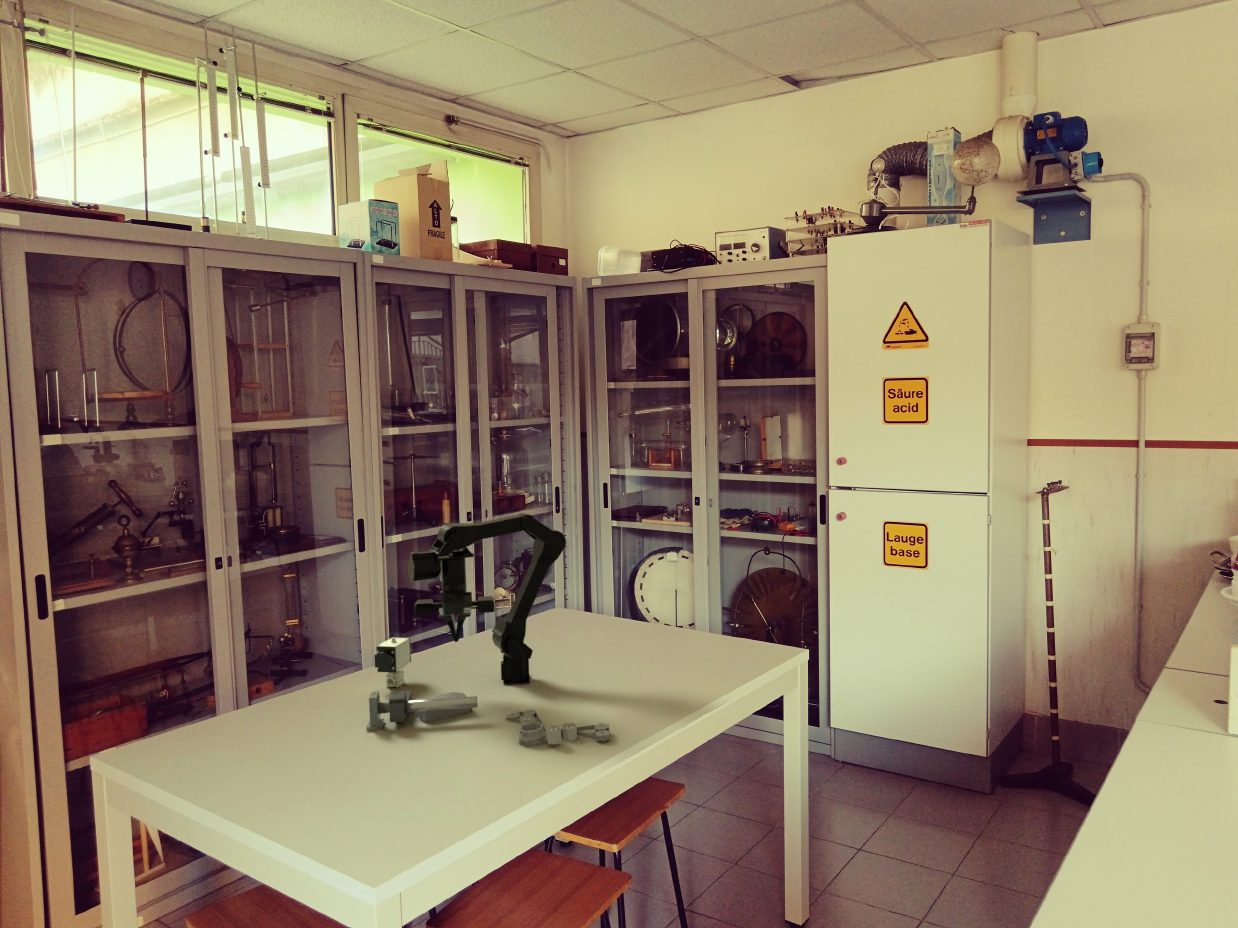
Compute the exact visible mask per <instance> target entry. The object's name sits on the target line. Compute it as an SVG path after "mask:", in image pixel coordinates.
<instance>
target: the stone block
mask: <svg viewBox="0 0 1238 928" xmlns="http://www.w3.org/2000/svg"><path fill="white" fill-rule="evenodd" d="M458 697H468V696H467V695H466V694H465V693H464V692H463V691H462V692H460V691H457V692H456V691H452V692H448V693H442V694H439V695H436V696H434V697H430V696H429V697H421V698H420V697H419V698H414V700H426V699H442V698H458ZM472 710H473V708H464V709H448V710H433V711H417V712H413V715H414V716H415V717H417V718H419V720H421V721H422V723H426V722H432V721H437V720H442V719H446V718H447V719H448V718H451V717H456V716H462V715H466V714H468V713H471V712H472Z"/></svg>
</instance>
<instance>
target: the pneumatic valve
mask: <svg viewBox="0 0 1238 928" xmlns="http://www.w3.org/2000/svg"><path fill="white" fill-rule="evenodd" d="M375 648H376V649H375V650H376V653H375V654H374V668H377V671H376V672H377V673H386V674H385V677H386V679H385V680H386V681H385V682H386V684H385V686H386V688H398V689H399V688H400V687H401V686H403V685H404V684H405V682H406V681H405V680H404V679H405V670H404V669H403V668H405V667H406V666H407V665H409V664H410V663H412V653H413V645H412V643H411V637H408V636H407V637H402V636H399V637H398V636H393V637H391V638H389V639H387V640H384V641H382V642H380V643H379V644H378V645H377V646H376V647H375Z"/></svg>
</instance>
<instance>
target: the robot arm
mask: <svg viewBox="0 0 1238 928" xmlns="http://www.w3.org/2000/svg"><path fill="white" fill-rule="evenodd" d="M517 532H524V533H525V534H527V536H529V537H530V538H531V539H533V540H534V541H533V546H532V556H531V557H532V558H531V562H530V564H529V566H528V568H527V571H526V572H525V573H526V574H524V575H525V576H524V577H523V580H522V582H521V585H520V588H519V590H518V591H517V594H516V596H515V598H514V600H513V602H512V605H511V607H510V610H509V611H508V613H506V615H505V616H504V617H501V616H498V617H497V619H496V623H495V625H494V627H493V628H492V629H491V632H492V637H491V639H492V643H493V644H494V645H495V646H496V648H498V649H499V650H500V653H501V654H503V655H502V661H500V675H501V676H500V680H501V681H502V684H503V685H517V684H522V685H523V684H529V683H531V675H530V659H531V658H532V654H533V649H532V648H531V647H529V645H527V644H526V643H525V638H526V633H527V632H526V631H527V621H528V617H529V614H530V612H531V610H532V608H533V606H534V604H535V601H536V599H537V596H538V594H539V591H540V590H541V587H542V585H543V583H544V580H545V578H546V576H547V573H548V571H549V569H550V568H551V566H552V565H553V564H554V563H555V561H557V560H558V559H559V557H560V556H561V554H562V553H563V551H564V549H565V548H566V545H567V540H566V537H565V534H564V533H563V532H561V531H559V530H556V529H553V528H550V527H548V526H547V525H545V524H544V523H542V522H541V521H539V520H537V519H536V518H535V517H534V516H533V515H531V514H528V513H524V512H521V513H518V514H516V515H511V516H506V517H501V518H500V517H499V518H495V519H491V520H485V521H481V522H475V523H474V522H473V523H472V522H471V523H467V522H466V523H465V522H457V523H456V522H454V523H445V524H443V525H442V526H441V527H440V528H439V529H438V532H437V537H436V539H435V541H434V542H433V544H432V546H431V547H430V548H429V551H421V552H418V551H412V552H410V553H409V554H410V556H409V559H408V565H407V570H408V571H407V572H408V577H409V578H408V579H409V580H410V582H411V583H412V582H413V583H414V582H422V581H424V582H425V581H430V580H431V581H432V580H437V577H440V575H441V591H442V593H441V598H440V600H441V602H434V601H433V599H432V598H429V599H417V601H416V602H415V603H414V606H413V613H414V615H413V616H414V617H426V616H427V617H428V616H429V615H430V614H431V613H432V612H437V611H438V613H439V619H444V622H446V624H447V626H448V628H449V631H450V633H451V636H452V638H453V641H454V643H457V642H459V640H460V635H461V634H462V633H461V632H462V628H463V625H464V622H465V620H466V619H467V618H470V617H471V616H472V610H478V611H479V613H482V614H483V613H494V612H495V610H496V609H495V608H496V604H495V603H496V601H495V597H494V596H493V595H489V596H488V595H487V596H486V595H485V596H478V598H477V600H473V594H472V591H467V568H466V559H467V558H474V557H475V554H474V553H473V552H472V551H470V549H469V548H468V547H470V546H471V545H473V544H475V543H477V542H479V541H481V540H486V539H491V538H495V537H500V536H504V535H505V536H506V535H510V534H514V533H517ZM455 615H457V623H456V621H455ZM456 624H457V625H456Z"/></svg>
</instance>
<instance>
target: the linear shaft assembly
mask: <svg viewBox="0 0 1238 928" xmlns="http://www.w3.org/2000/svg"><path fill="white" fill-rule="evenodd" d="M380 697H381V696H380V691H371V693H370V695H369V697H368V708H369V710H368V711H369V720H368V723H367V726H366V732H376V731H378V732H379V731H382V729H383V726H384V724H385V718H381V715H383V714H390V712H389V701H384V702H383V701H381V700H380V699H381V698H380ZM478 698H479V697H478V695H476V696H467V697H458V698H442V699H426V700H415V699H412V700H410V701H404V712H408V713H412V712H417V711H433V710H448V709H464V708H472V709H476V708H477V709H478V707H479V704H478V703H479V701H478Z"/></svg>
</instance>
